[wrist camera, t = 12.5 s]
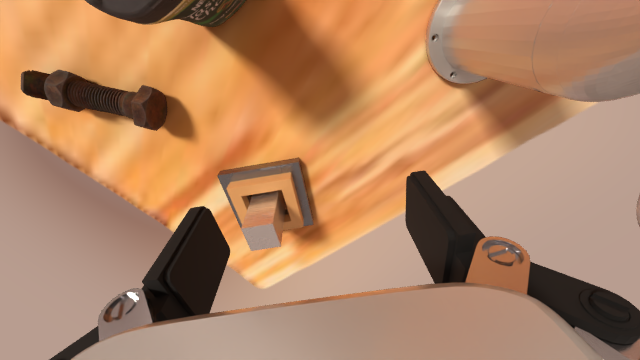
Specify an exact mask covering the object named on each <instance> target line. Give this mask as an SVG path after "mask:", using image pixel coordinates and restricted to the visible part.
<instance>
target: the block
mask: <svg viewBox="0 0 640 360" xmlns="http://www.w3.org/2000/svg"><path fill="white" fill-rule="evenodd" d="M285 209H286V202H285V199H284V196H283V193H282V190H277V191H271V192H265V193H259V194H253V195H252V198H251V201H250V204H249V207H248V210H247V213H246V216H245V219H244V221H243V224H242V227H241V230H242V232H243V234H244V236H245V238H246V240H247V243H248V245H249V247H250V249H251V251H254V250H260V249H267V248H273V247H280V246H281V241H282V233H283V225H284V217H285Z"/></svg>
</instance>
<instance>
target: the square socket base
mask: <svg viewBox="0 0 640 360" xmlns="http://www.w3.org/2000/svg"><path fill="white" fill-rule="evenodd" d="M217 176H218V178H219V180H220V183H221V185H222V187H223V189H224V192H225V194H226V196H227V198H228V200H229V203H230V205H231V207H232V209H233V212H234V214H235V216H236V218H237V221H238V223H239V225H240V227H242V224H243V221H244V219H245V216H246V213H247V210H248V207H249V204H250V201H251V196H250V195H253V194H259V193H265V192H271V191H277V190H282V192H283V195H284V199H285V202H286V205H287V209H285V217H284V225H283V230H289V229H296V228H302V227H303V226H308V225H313V216H312V212H311V208H310V203H309V199H308V195H307V191H306V186H305V182H304V178H303V174H302V169H301V165H300V161H299V158H295V159H289V160H283V161H277V162H271V163H265V164H259V165H253V166H247V167H241V168H235V169H229V170H223V171H220V172H219V174H218V175H217Z"/></svg>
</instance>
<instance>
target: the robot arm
mask: <svg viewBox="0 0 640 360" xmlns="http://www.w3.org/2000/svg"><path fill="white" fill-rule="evenodd" d="M432 36H434V39H433V40H432ZM426 52H427V56H428V59H429V62H430V64H431V66H432V68H433V69H434V70H435V71H436V73H437V74H438V75H440V76H441V77H442V78H444V79H446V80H448V81H451V82H454V83H458V84H470V83H475V82H479V81H481V80H484V79H487V78H490V79H494V80H498V81H502V82H505V83H509V84H513V85H517V86H521V87H524V88H528V89H532V90H536V91H539V92H543V93H547V94H551V95H556V96H559V97H563V98H567V99H572V100H577V101H585V102H601V101H611V100H617V99H621V98H625V97H629V96H633V95H637V94H640V0H439V1H438V3H437V4H436V6H435V8H434V10H433V12H432V15H431V17H430V20H429V24H428V27H427V33H426ZM451 73H452V74H451ZM450 74H451V75H450ZM637 220H638V224H639V226H640V195H639V199H638V202H637ZM406 226H407V229H408V231H409V233H410V235H411V237H412V239H413V241H414V243H415V245H416V247H417V249H418V251H419V253H420V255H421V257H422V259H423V261H424V263H425V265H426V266H427V268H428V271H429V273H430V275H431V277H432V279H433V281H434V283H435V284H426V285H418V286H409V287H400V288H392V289H384V290H376V291H369V292H362V293H354V294H346V295H339V296H331V297H325V298H317V299H309V300H302V301H295V302H288V303H281V304H273V305H267V306H259V307H252V308H245V309H238V310H231V311H225V312H218V313H210V310H211V307H212V304H213V301H214V298H215V296H216V293H217V290H218V287H219V284H220V281H221V278H222V275H223V273H224V270H225V267H226V264H227V261H228V258H229V256H230V248H229V246H228V244H227V242H226V240H225V238H224V236H223V234H222V232H221V230H220V228H219V226H218V224H217V222H216V220H215V218H214V217H213V215H212V213H211V211H210V209H208V208H207V209H206V207H204V206H201V207H195V208H191V209H190V210H189V211H188V213H187V214H186V216H185V217H184V219H183V220H182V222H181V223H180V225H179V226H178V228H177V229H176V231H175V232H174V234H173V235H172V237H171V238H170V240H169V241H168V243H167V244H166V246H165V247H164V249H163V250H162V252H161V253H160V255H159V256H158V258H157V259H156V261H155V262H154V264H153V265H152V267H151V268H150V270H149V271H148V273H147V274H146V276H145V278H144V279H143V281H142V283H143V284H144V286H143V288H142V289H139V288H134V289H130V290H127V291H125V292H123V293H121V294H119V295H118V296H116V297H115V298H113V299H112V300H111V301H110V302H109V303H108V304H107V305H106V306H105V307H104V309H103V310H102V311H101V313H100V315H99V319H98V326H97V327H96V328H94V329H93V330H91V331H90V332H89V333H87V334H86V335H84V336H83V337H81V338H80V339H79V340H77V341H76V342H74V343H73V344H71V345H70V346H68V347H67V348H66V349H64V350H63V351H61V352H60V353H58V354H57V355H55V356H54V357H53V358H51V359H50V360H640V311H639V310H638V309H637V308H636V307H635V306H634V305H632V304H631V303H630V302H629V301H627V300H626V299H624V298H622V297H620V296H619V295H617V294H615V293H613V292H610V291H608V290H606V289H603V288H600V287H597V286H595V285H592V284H589V283H586V282H584V281H581V280H578V279H576V278H573V277H570V276H567V275H565V274H562V273H559V272H557V271H554V270H551V269H548V268H546V267H543V266H540V265H537V264H535V263H532V262H530V256H529V255H528V253H527V251H526V250H525V249H524V248H522V246H520V245H519V244H517V243H515V242H514V241H511V240H509V239H506V238H502V237H493V236H490V237H485V236H484V234H483V233H482V232H481V231H480V230H479V229H478V228H477V226H476V225H475V224H474V223H473V222H472V221H471V220H470V218H469V217H468V216H467V215H466V214H465V212H464V211H463V210H462V209H461V208H460V207H459V205H458V204H457V203H456V202H455V201H454V200H453V198H451V197H450V196H446V195H445V194H444V193H443V192H442V191H441V189H440V188H439V187H438V186H437V185H436V183H435V182H434V181H433V180H432V179H431V177H430V176H429V175H428V174H427V173H426V171H418V172H412V173H411V174H410V176H407V182H406ZM209 313H210V314H209Z"/></svg>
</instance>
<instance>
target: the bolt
mask: <svg viewBox="0 0 640 360" xmlns="http://www.w3.org/2000/svg"><path fill="white" fill-rule="evenodd" d="M21 90H22V91H23V93H25V94H26V95H28V96H31V97H35V98H41V99H45V100H49V101H50V103H51V104H52V105H54V106H57V107H61V108H64V109H68V110H73V111H78V112H80V111H82V110H83V109H85V108H87V109H92V110H97V111H103V112H108V113H113V114H117V115H121V116H126V117H129V118H132V119H134V125H137V126H140V127H143V128H147V129H151V130H156V131H157V130H158V129H159V128H160V127H161V126H162V125H163V124H164V122H165V119H166V115H167V103H166V99H165V97H164V95H163V93H162V92H160V91H159V90H157V89H154V88H152V87H148V86H144V85H142V86H141V88H140V89H139V90H138V92H137V93H136V92H128V91H123V90H119V89H114V88H110V87H105V86H101V85H96V84H92V83H88V82H87V81H86V80H85V79H84V78H82V77H80V76H78V75H75V74H73V73H70V72H67V71H62V70H57V71H55V72H53V73H52V74H47V73H42V72H38V71H34V70H32V71H30V70H29V71H25V72H22V74H21Z"/></svg>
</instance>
